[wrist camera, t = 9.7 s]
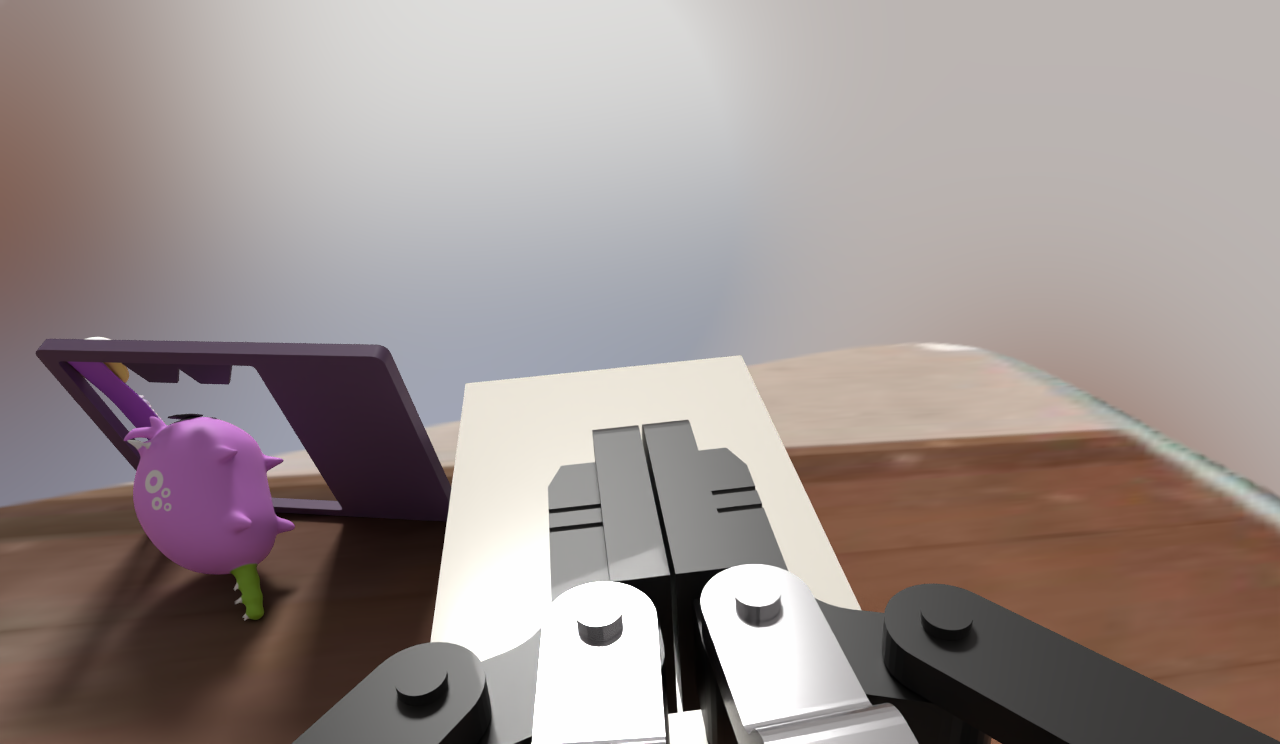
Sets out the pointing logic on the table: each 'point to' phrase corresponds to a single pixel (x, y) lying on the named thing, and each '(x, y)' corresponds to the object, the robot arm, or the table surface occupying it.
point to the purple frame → (255, 444)
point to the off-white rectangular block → (562, 435)
